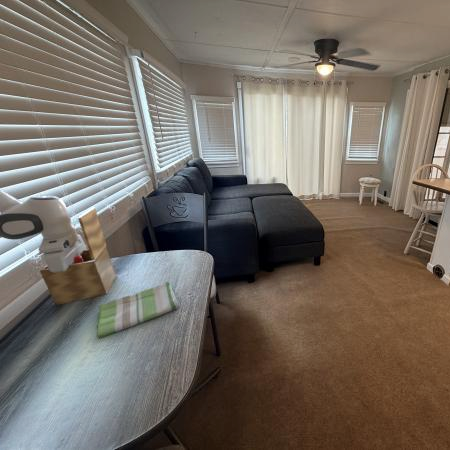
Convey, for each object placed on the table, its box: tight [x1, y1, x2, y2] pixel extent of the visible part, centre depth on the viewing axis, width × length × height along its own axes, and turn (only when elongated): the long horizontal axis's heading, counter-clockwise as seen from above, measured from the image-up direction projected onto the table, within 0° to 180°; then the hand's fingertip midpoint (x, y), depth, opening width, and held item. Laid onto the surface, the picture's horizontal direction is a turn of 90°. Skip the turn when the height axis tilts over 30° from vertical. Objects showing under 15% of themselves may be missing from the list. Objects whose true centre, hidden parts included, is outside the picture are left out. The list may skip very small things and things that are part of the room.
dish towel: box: [96, 280, 180, 339], centre depth 84 cm, size 17×23×4 cm
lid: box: [77, 207, 107, 260], centre depth 91 cm, size 17×14×1 cm
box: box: [39, 246, 117, 306], centre depth 94 cm, size 16×14×15 cm
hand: (75, 270), depth 93 cm, fingers closed on beverage can, 6 cm apart
